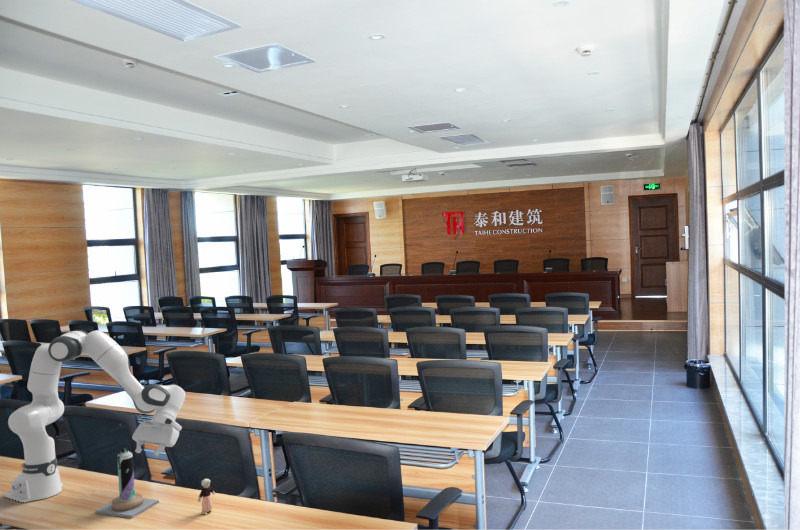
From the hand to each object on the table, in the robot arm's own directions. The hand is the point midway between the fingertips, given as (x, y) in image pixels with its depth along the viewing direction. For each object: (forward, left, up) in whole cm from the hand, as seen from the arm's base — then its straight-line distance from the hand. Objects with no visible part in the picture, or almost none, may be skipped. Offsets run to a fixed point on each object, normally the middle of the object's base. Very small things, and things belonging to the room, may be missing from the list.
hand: (146, 453), depth 246 cm
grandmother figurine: (+35, -7, -17) cm, 39 cm away
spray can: (+1, -12, -14) cm, 18 cm away
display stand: (+1, -12, -17) cm, 21 cm away
